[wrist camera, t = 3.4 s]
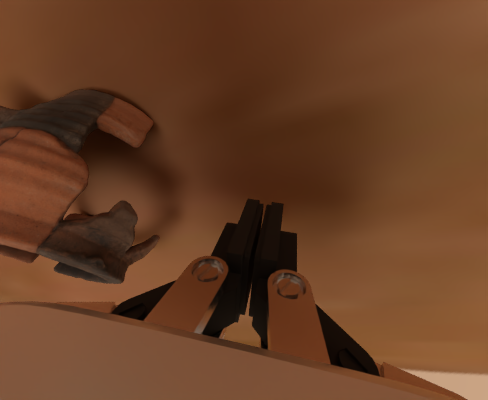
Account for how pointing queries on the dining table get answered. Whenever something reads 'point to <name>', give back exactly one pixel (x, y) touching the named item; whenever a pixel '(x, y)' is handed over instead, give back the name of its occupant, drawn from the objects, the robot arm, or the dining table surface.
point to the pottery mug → (66, 186)
